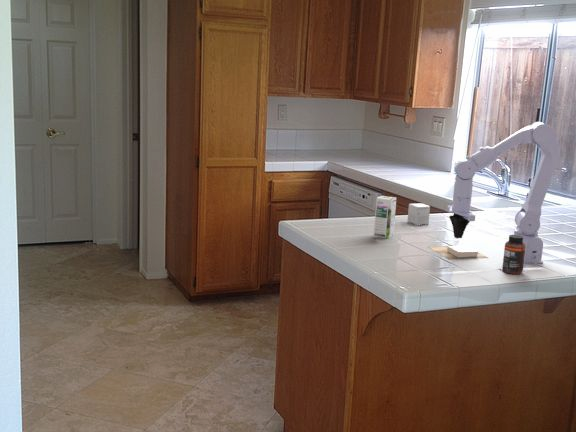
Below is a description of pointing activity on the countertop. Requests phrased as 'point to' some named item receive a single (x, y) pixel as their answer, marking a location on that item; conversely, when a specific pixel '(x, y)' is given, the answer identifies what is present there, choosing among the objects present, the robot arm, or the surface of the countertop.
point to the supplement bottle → (514, 255)
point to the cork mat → (443, 252)
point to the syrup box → (384, 217)
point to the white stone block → (418, 214)
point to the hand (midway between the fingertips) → (458, 237)
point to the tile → (462, 251)
